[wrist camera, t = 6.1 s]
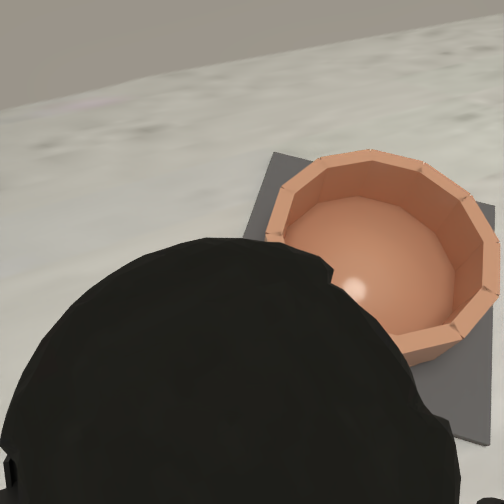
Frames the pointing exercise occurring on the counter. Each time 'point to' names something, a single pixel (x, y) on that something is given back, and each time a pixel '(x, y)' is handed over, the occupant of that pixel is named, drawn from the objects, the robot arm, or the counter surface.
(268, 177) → the mat
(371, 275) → the bowl
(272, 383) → the spray can
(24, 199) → the counter surface
